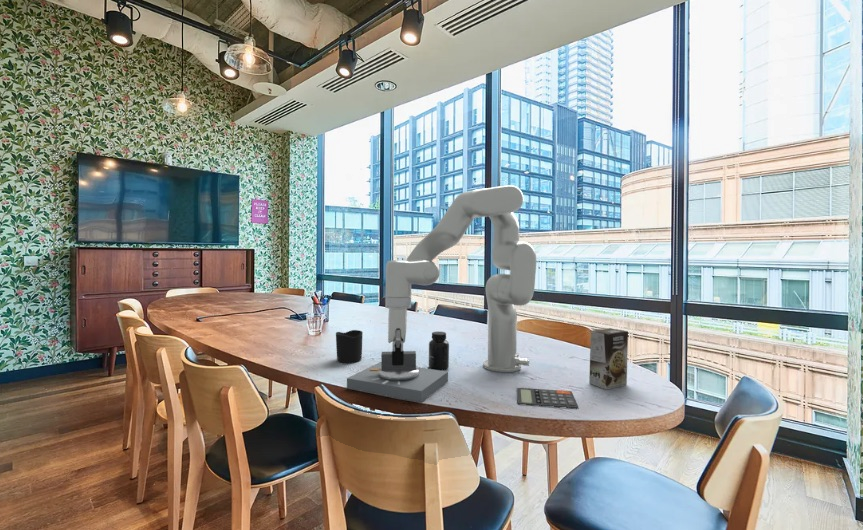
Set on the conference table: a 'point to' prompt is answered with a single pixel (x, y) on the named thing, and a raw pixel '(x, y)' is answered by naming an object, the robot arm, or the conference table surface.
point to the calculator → (546, 397)
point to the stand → (399, 383)
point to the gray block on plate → (398, 367)
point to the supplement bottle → (438, 351)
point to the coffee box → (608, 358)
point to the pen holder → (349, 346)
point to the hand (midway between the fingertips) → (397, 360)
